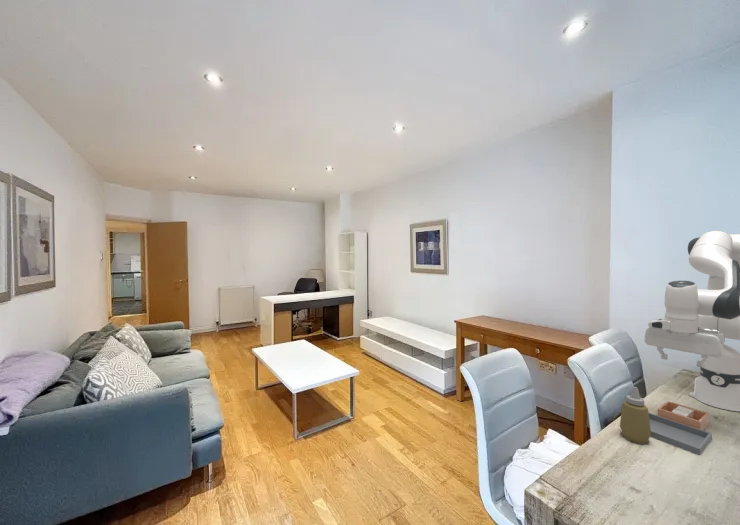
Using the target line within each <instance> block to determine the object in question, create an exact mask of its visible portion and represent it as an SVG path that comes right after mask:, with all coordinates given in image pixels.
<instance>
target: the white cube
mask: <svg viewBox="0 0 740 525" xmlns="http://www.w3.org/2000/svg"><path fill="white" fill-rule="evenodd" d="M675 409H677V410H680V411H684V412H687V413H689V418H691V419H694V410H692V409H688V408H685V407H681V406H678V407H677V408H675Z"/></svg>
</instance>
